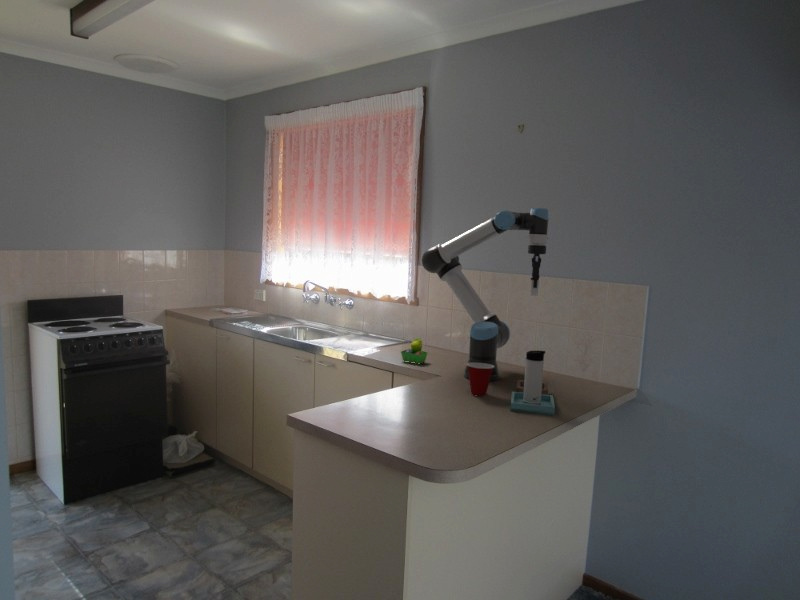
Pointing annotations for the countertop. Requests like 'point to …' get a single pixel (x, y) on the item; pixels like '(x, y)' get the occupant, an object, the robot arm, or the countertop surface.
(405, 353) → the fruit basket
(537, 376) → the travel mug
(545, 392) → the open wooden box
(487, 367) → the plastic cup
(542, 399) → the tray
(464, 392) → the countertop surface
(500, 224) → the robot arm
